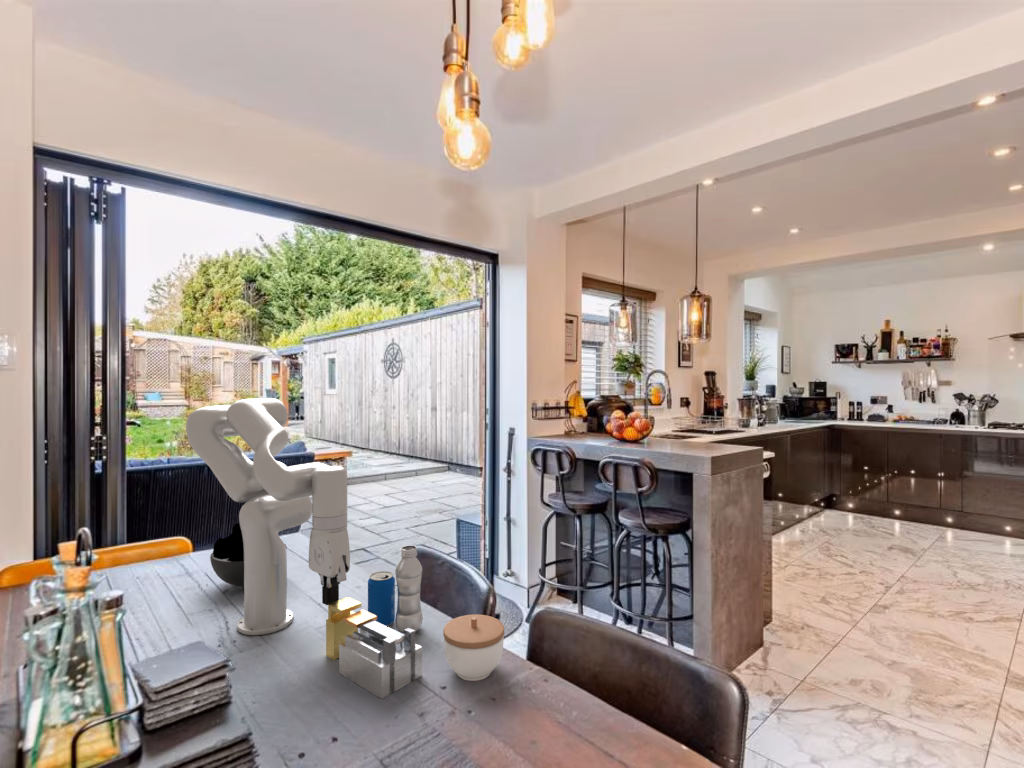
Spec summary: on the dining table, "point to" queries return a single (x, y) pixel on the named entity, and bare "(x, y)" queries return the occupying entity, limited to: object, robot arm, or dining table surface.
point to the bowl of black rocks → (230, 557)
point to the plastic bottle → (408, 590)
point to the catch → (339, 624)
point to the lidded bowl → (473, 645)
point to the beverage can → (382, 597)
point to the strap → (373, 626)
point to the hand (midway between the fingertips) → (330, 602)
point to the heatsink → (380, 662)
